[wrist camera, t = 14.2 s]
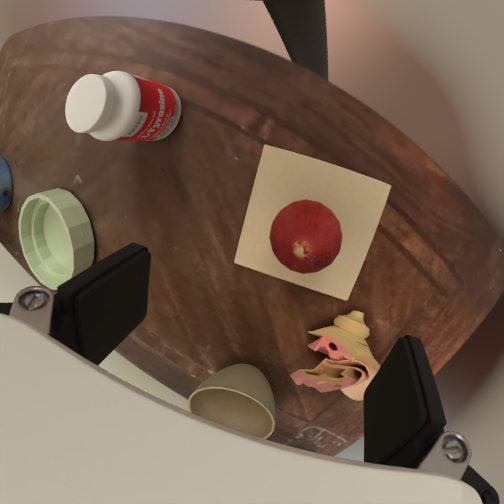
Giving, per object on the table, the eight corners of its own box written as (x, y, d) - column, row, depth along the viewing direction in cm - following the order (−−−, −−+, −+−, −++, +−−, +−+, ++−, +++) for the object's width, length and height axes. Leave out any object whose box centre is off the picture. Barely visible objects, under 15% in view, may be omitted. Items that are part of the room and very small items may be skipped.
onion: (352, 235, 26) (360, 267, 19) (300, 266, 28) (289, 306, 21) (317, 182, 26) (313, 193, 18) (266, 216, 28) (242, 240, 20)
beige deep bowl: (195, 369, 37) (172, 405, 31) (244, 333, 33) (223, 373, 27) (248, 412, 38) (234, 451, 31) (302, 385, 34) (293, 428, 27)
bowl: (41, 180, 34) (18, 185, 30) (99, 200, 33) (74, 207, 28) (41, 260, 39) (22, 269, 35) (96, 291, 37) (75, 305, 33)
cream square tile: (265, 144, 26) (264, 144, 26) (390, 185, 24) (391, 185, 24) (235, 261, 31) (233, 262, 30) (346, 299, 29) (347, 301, 28)
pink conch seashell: (310, 290, 30) (386, 312, 22) (359, 321, 35) (423, 342, 26) (270, 370, 29) (335, 415, 20) (327, 387, 33) (385, 420, 25)
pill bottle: (172, 148, 28) (98, 151, 18) (128, 132, 29) (52, 134, 19) (192, 91, 26) (124, 68, 16) (145, 80, 27) (72, 62, 16)
